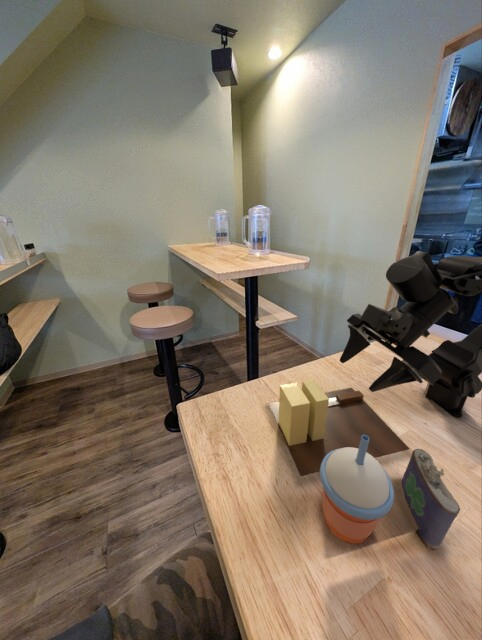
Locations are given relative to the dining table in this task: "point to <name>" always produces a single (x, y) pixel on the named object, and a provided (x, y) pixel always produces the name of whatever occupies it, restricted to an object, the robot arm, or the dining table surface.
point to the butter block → (293, 413)
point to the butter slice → (316, 409)
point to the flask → (428, 499)
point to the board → (343, 434)
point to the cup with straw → (354, 492)
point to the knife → (345, 398)
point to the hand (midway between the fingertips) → (354, 375)
